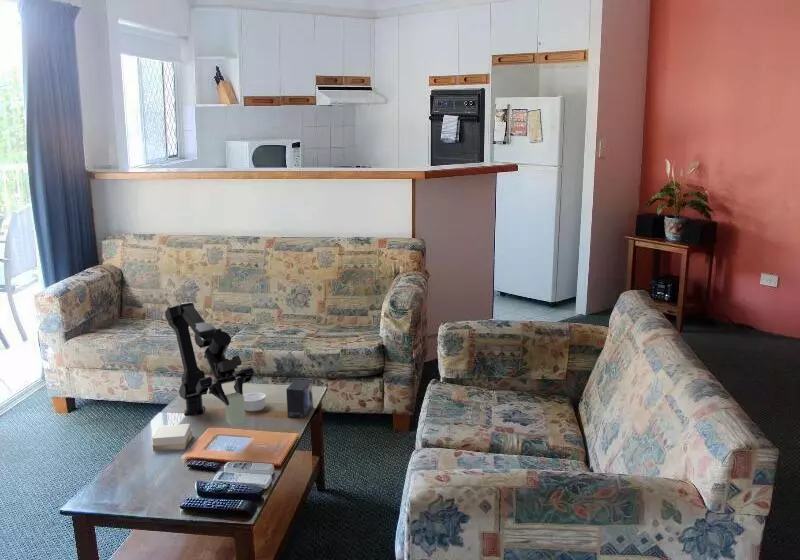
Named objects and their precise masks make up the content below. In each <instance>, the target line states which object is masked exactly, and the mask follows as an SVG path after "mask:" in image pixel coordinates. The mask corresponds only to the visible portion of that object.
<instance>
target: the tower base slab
mask: <svg viewBox="0 0 800 560" xmlns="http://www.w3.org/2000/svg"><path fill="white" fill-rule="evenodd" d="M192 438H193V431H192V430H191V431H190V433H189V436H188V438H187V441H186V443H183V444H169V445H156V446H153V444H152V451H167V450H168V451H171V450H185V449H186V447H187V445H189V442H190V441H191V439H192Z"/></svg>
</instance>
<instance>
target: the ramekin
mask: <svg viewBox="0 0 800 560" xmlns="http://www.w3.org/2000/svg"><path fill="white" fill-rule="evenodd" d="M243 396H244V407H245V412H246V411H247V412H257V411H261V410H263V409H264V408H265V407H266V397H267V396H266V394H265V393H263V392H250V393H249V392H248V393H245V394H243Z"/></svg>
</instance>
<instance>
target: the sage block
mask: <svg viewBox="0 0 800 560" xmlns="http://www.w3.org/2000/svg"><path fill="white" fill-rule="evenodd" d="M225 395H226V397H227V399H228V402H229V405H226V404H225V403H224V405H225V417H226V423H228V424H229V425H231V426H233V427H234V426H237V425H241V424H244V423H246V410H245V407H244V396H243V395H244V394H243V395H242V394H240V393H238V392H236V391H235V392H233V393H229V394H225Z"/></svg>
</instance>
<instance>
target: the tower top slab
mask: <svg viewBox="0 0 800 560" xmlns="http://www.w3.org/2000/svg"><path fill="white" fill-rule="evenodd" d="M190 431H192V430H191V424H190V423H183V424H182V423H181V424H166V425H158V427H157V429H156V430H155V433H154V434H153V437H152V438H151V439H152V445H153V446H156V445H169V444H183V443H186V441H187V438H188V436H189V433H190ZM153 446H152V447H153Z"/></svg>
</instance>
